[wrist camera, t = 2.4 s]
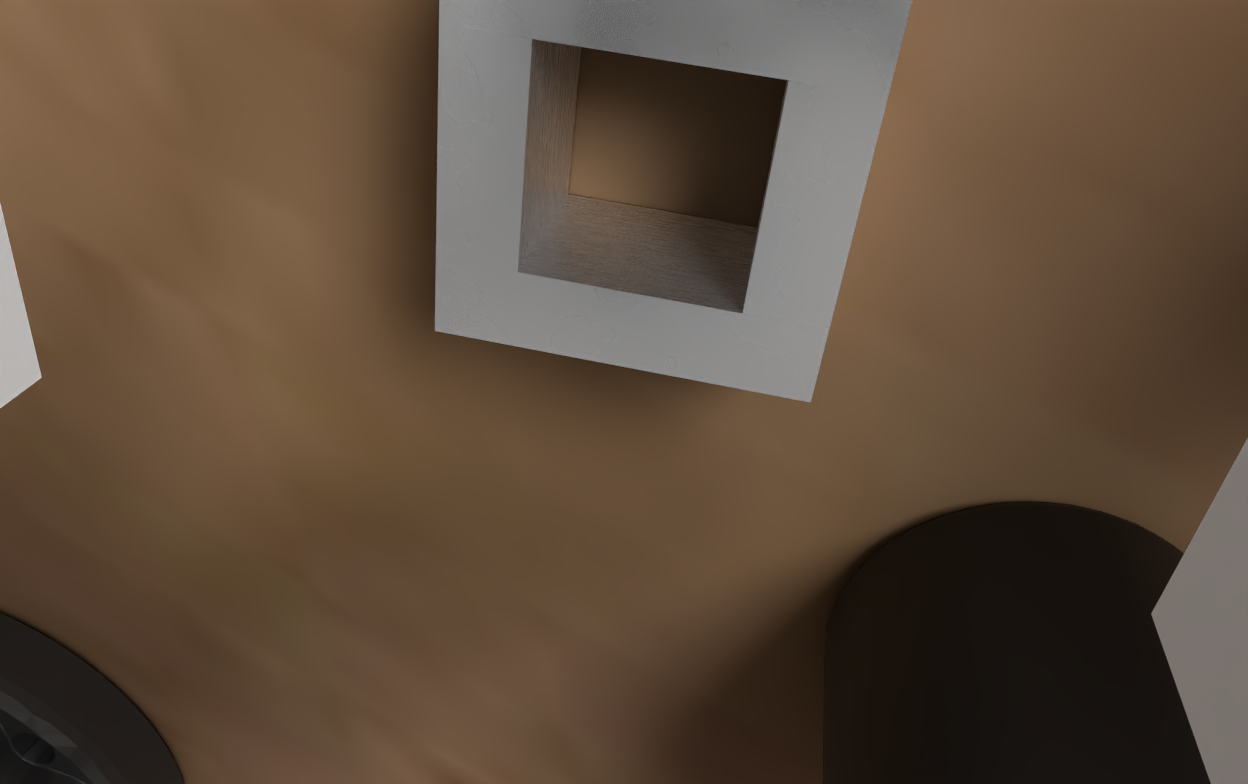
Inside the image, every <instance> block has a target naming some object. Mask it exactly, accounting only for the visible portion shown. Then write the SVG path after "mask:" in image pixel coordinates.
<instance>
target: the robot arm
mask: <svg viewBox="0 0 1248 784" xmlns="http://www.w3.org/2000/svg"><path fill="white" fill-rule="evenodd" d="M41 378H42V376H41V372H40V368H39V364H38V360H37V355H36V351H35V347H34V343H33V339H32V334H31V330H30V326H29V322H28V318H27V313H26V309H25V305H24V301H23V297H22V293H21V288H20V284H19V280H18V276H17V272H16V267H15V263H14V259H13V255H12V251H11V246H10V242H9V238H8V234H7V230H6V226H5V221H4V217H3V213H2V209H1V205H0V408H1V407H3V406H4V405H5V404H7V403H8V402H9V401H11V400H12V399H14V398H15V397H16V396H18V395H19V394H20V393H22V392H23V391H24V390H26V389H27V388H28V387H30V386H31V385H32V384H34V383H35V382H37V381H38V380H39V379H41ZM1151 615H1152V618H1153V621H1154V623H1155V626H1156V629H1157V632H1158V635H1159V638H1160V640H1161V643H1162V646H1163V649H1164V652H1165V655H1166V657H1167V660H1168V663H1169V666H1170V669H1171V672H1172V675H1173V677H1174V680H1175V683H1176V686H1177V689H1178V692H1179V694H1180V697H1181V700H1182V703H1183V706H1184V709H1185V711H1186V714H1187V717H1188V720H1189V723H1190V726H1191V728H1192V731H1193V734H1194V737H1195V740H1196V743H1197V746H1198V748H1199V751H1200V754H1201V757H1202V760H1203V763H1204V765H1205V768H1206V771H1207V774H1208V777H1209V780H1210V782H1211V784H1248V438H1247V440H1246V442H1245V444H1244V445H1243V447H1242V449H1241V451H1240V453H1239V454H1238V456H1237V458H1236V460H1235V462H1234V464H1233V465H1232V467H1231V469H1230V471H1229V473H1228V475H1227V476H1226V478H1225V480H1224V482H1223V484H1222V485H1221V487H1220V489H1219V491H1218V493H1217V495H1216V496H1215V498H1214V500H1213V502H1212V504H1211V506H1210V507H1209V509H1208V511H1207V513H1206V515H1205V516H1204V518H1203V520H1202V522H1201V524H1200V526H1199V527H1198V529H1197V531H1196V533H1195V535H1194V537H1193V538H1192V540H1191V542H1190V544H1189V546H1188V547H1187V549H1186V551H1185V553H1184V555H1183V557H1182V558H1181V560H1180V562H1179V564H1178V566H1177V568H1176V569H1175V571H1174V573H1173V575H1172V577H1171V578H1170V580H1169V582H1168V584H1167V586H1166V588H1165V589H1164V591H1163V593H1162V595H1161V597H1160V599H1159V600H1158V602H1157V604H1156V606H1155V608H1154V609H1153V611H1152V613H1151ZM0 784H184V783H183V780H182V777H181V774H180V772H179V769H178V767H177V765H176V763H175V761H174V759H173V757H172V755H171V753H170V752H169V750H168V748H167V747H166V745H165V744H164V742H163V741H162V739H161V738H160V736H159V735H158V734H157V732H156V731H155V729H154V728H153V727H152V726H151V724H150V723H149V722H148V721H147V719H146V718H145V717H144V716H143V715H142V714H141V712H140V711H139V710H138V709H137V708H136V707H135V706H134V705H133V704H132V703H131V702H130V701H129V700H128V699H127V698H126V697H125V696H124V695H123V694H122V693H121V692H120V691H119V690H118V689H117V688H116V687H115V686H113V685H112V684H111V683H110V682H109V681H108V680H107V679H105V678H104V677H103V676H102V675H101V674H99V673H98V672H97V671H96V670H94V669H93V668H92V667H91V666H89V665H88V664H87V663H85V662H84V661H83V660H81V659H80V658H78V657H77V656H75V655H74V654H73V653H71V652H70V651H68V650H67V649H65V648H64V647H62V646H61V645H59V644H57V643H56V642H54V641H53V640H51V639H49V638H48V637H46V636H44V635H42V634H41V633H39V632H37V631H35V630H34V629H32V628H30V627H28V626H26V625H24V624H22V623H20V622H18V621H16V620H14V619H12V618H10V617H8V616H5V615H3V614H1V613H0Z"/></svg>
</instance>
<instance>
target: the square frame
mask: <svg viewBox="0 0 1248 784" xmlns="http://www.w3.org/2000/svg"><path fill="white" fill-rule="evenodd" d="M911 4H912V0H439V64H438V137H437V211H436V284H435V331H438V332H443V333H448V334H454V335H459V336H464V337H469V338H475V339H480V340H485V341H490V342H496V343H501V344H506V345H511V346H517V347H522V348H527V349H532V350H538V351H543V352H548V353H553V354H559V355H564V356H569V357H574V358H580V359H585V360H590V361H595V362H601V363H606V364H611V365H616V366H622V367H627V368H632V369H637V370H643V371H648V372H653V373H658V374H664V375H669V376H674V377H679V378H685V379H690V380H695V381H700V382H706V383H711V384H716V385H721V386H727V387H732V388H737V389H742V390H748V391H753V392H758V393H763V394H769V395H774V396H779V397H784V398H790V399H795V400H800V401H805V402H811V399H812V396H813V392H814V388H815V384H816V380H817V376H818V372H819V368H820V364H821V360H822V356H823V352H824V348H825V344H826V340H827V336H828V332H829V328H830V324H831V320H832V316H833V312H834V309H835V305H836V301H837V297H838V293H839V289H840V285H841V281H842V277H843V273H844V269H845V265H846V261H847V257H848V253H849V249H850V245H851V241H852V237H853V233H854V229H855V225H856V222H857V218H858V214H859V210H860V206H861V202H862V198H863V194H864V190H865V186H866V182H867V178H868V174H869V170H870V166H871V162H872V158H873V154H874V150H875V146H876V142H877V138H878V135H879V131H880V127H881V123H882V119H883V115H884V111H885V107H886V103H887V99H888V95H889V91H890V87H891V83H892V79H893V75H894V71H895V67H896V63H897V59H898V55H899V51H900V48H901V44H902V40H903V36H904V32H905V28H906V24H907V20H908V16H909V12H910V8H911ZM581 47H585V48H591V49H598V50H604V51H610V52H616V53H622V54H629V55H635V56H641V57H647V58H653V59H660V60H666V61H672V62H678V63H684V64H691V65H697V66H703V67H709V68H715V69H722V70H728V71H734V72H740V73H746V74H753V75H759V76H765V77H771V78H777V79H784V80H787V81H786V86H785V91H784V96H783V101H782V106H781V111H780V116H779V121H778V126H777V131H776V137H775V142H774V147H773V152H772V157H771V162H770V167H769V172H768V177H767V182H766V187H765V192H764V197H763V202H762V208H761V213H760V218H759V223H758V227H754V226H748V225H743V224H737V223H731V222H726V221H720V220H714V219H708V218H703V217H697V216H691V215H686V214H680V213H674V212H669V211H663V210H657V209H651V208H646V207H640V206H634V205H629V204H623V203H617V202H611V201H606V200H600V199H594V198H589V197H583V196H577V195H572V194H569V183H570V172H571V161H572V149H573V138H574V126H575V115H576V104H577V92H578V81H579V69H580V58H581Z"/></svg>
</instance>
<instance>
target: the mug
mask: <svg viewBox="0 0 1248 784" xmlns="http://www.w3.org/2000/svg"><path fill="white" fill-rule="evenodd" d="M1183 555H1184V553H1182V552H1181V551H1180V550H1179V549H1177V548H1176V547H1175V546H1173V545H1171V544H1170V543H1168V542H1167V541H1165V540H1164V539H1162V538H1161V537H1159V536H1157V535H1156V534H1154V533H1152V532H1150V531H1148V530H1146V529H1144V528H1143V527H1141V526H1139V525H1137V524H1135V523H1133V522H1130V521H1127V520H1124V519H1122V518H1119V517H1116V516H1113V515H1111V514H1108V513H1104V512H1101V511H1096V510H1092V509H1087V508H1083V507H1078V506H1074V505H1065V504H1054V503H1042V502H1022V503H1001V504H995V505H988V506H981V507H975V508H970V509H966V510H962V511H959V512H955V513H951V514H948V515H944V516H941V517H938V518H936V519H934V520H931V521H929V522H926V523H924V524H922V525H919V526H917V527H915V528H913V529H911V530H909V531H907V532H906V533H904V534H902V535H900V536H899V537H897V538H895V539H894V540H892V541H890V542H889V543H887V544H886V545H885V546H884V547H882V548H881V549H880V550H879V551H877V552H876V553H875V554H874V555H873V556H871V557H870V558H869V559H868V560H867V561H866V562H865V563H864V564H863V565H862V566H861V568H860V569H859V570H858V571H857V572H856V573H855V574H854V576H853V577H852V578H851V579H850V581H849V582H848V583H847V585H846V586H845V588H844V590H843V591H842V593H841V595H840V596H839V598H838V600H837V601H836V603H835V606H834V608H833V610H832V613H831V616H830V618H829V621H828V624H827V628H826V636H825V650H824V728H823V784H1211V782H1210V780H1209V777H1208V774H1207V771H1206V768H1205V765H1204V763H1203V760H1202V757H1201V754H1200V751H1199V748H1198V746H1197V743H1196V740H1195V737H1194V734H1193V731H1192V728H1191V726H1190V723H1189V720H1188V717H1187V714H1186V711H1185V709H1184V706H1183V703H1182V700H1181V697H1180V694H1179V692H1178V689H1177V686H1176V683H1175V680H1174V677H1173V675H1172V672H1171V669H1170V666H1169V663H1168V660H1167V657H1166V655H1165V652H1164V649H1163V646H1162V643H1161V640H1160V638H1159V635H1158V632H1157V629H1156V626H1155V623H1154V621H1153V618H1152V615H1151V613H1152V611H1153V609H1154V608H1155V606H1156V604H1157V602H1158V600H1159V599H1160V597H1161V595H1162V593H1163V591H1164V589H1165V588H1166V586H1167V584H1168V582H1169V580H1170V578H1171V577H1172V575H1173V573H1174V571H1175V569H1176V568H1177V566H1178V564H1179V562H1180V560H1181V558H1182V557H1183Z"/></svg>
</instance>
